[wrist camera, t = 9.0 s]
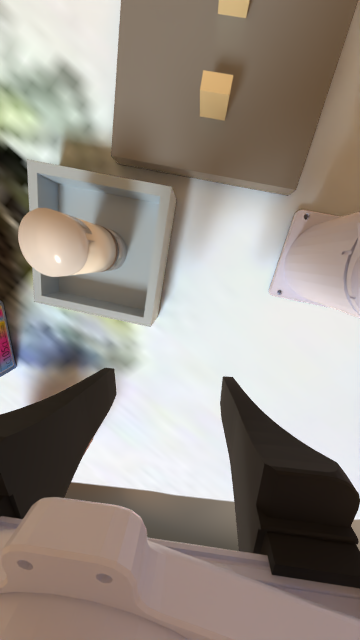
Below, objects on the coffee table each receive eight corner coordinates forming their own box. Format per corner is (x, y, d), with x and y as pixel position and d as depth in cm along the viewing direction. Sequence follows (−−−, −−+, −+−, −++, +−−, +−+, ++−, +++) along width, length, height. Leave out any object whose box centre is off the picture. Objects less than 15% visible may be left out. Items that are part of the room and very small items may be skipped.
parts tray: (176, 199, 18) (171, 186, 15) (157, 316, 22) (150, 326, 19) (57, 176, 19) (27, 159, 16) (58, 295, 23) (34, 301, 19)
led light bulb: (130, 234, 19) (82, 217, 11) (123, 275, 20) (77, 284, 13) (90, 223, 19) (17, 199, 11) (86, 265, 20) (18, 267, 13)
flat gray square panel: (362, -37, 13) (428, -157, 9) (287, 195, 18) (312, 177, 14) (135, -69, 14) (110, -195, 10) (118, 163, 18) (96, 138, 14)
